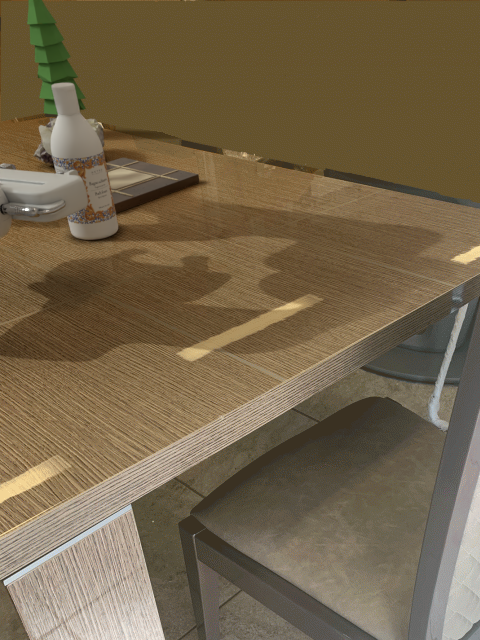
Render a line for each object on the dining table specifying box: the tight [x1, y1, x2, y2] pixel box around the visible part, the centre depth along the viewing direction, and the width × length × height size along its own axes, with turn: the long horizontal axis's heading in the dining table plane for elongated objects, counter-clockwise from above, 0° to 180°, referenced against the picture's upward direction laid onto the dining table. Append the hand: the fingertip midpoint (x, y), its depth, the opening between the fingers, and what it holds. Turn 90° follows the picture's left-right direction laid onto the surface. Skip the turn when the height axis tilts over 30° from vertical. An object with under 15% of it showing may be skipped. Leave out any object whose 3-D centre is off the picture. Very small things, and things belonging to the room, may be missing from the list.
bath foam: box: [51, 83, 119, 241], centre depth 91 cm, size 7×7×20 cm
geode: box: [33, 117, 105, 165], centre depth 125 cm, size 17×9×15 cm
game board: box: [106, 157, 200, 214], centre depth 114 cm, size 20×20×2 cm
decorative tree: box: [26, 0, 87, 116], centre depth 136 cm, size 10×9×30 cm
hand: (42, 172), depth 84 cm, fingers open, 8 cm apart
